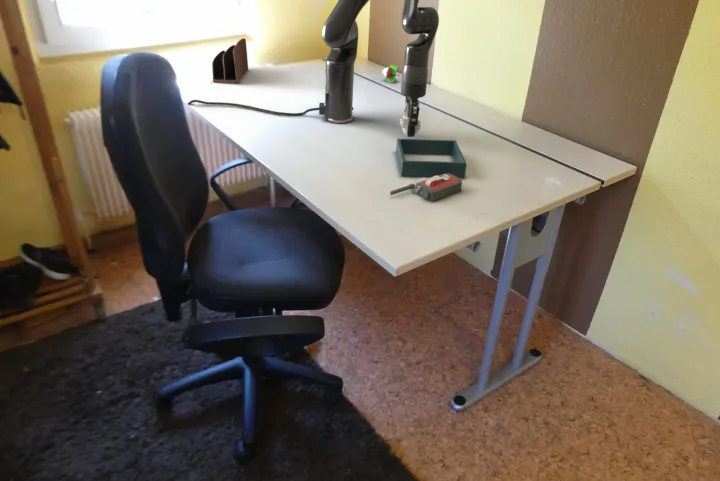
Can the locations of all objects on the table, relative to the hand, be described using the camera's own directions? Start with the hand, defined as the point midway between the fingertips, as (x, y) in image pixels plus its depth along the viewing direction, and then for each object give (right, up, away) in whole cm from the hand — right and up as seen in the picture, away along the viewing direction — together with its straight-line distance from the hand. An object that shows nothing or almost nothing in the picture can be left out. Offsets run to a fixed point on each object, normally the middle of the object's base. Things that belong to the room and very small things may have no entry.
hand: (409, 132), depth 172 cm
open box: (+4, -12, -14) cm, 19 cm away
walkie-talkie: (+2, -22, -29) cm, 36 cm away
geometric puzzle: (-3, +32, +56) cm, 65 cm away
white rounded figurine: (0, -1, +1) cm, 1 cm away
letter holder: (-68, +33, +52) cm, 92 cm away
